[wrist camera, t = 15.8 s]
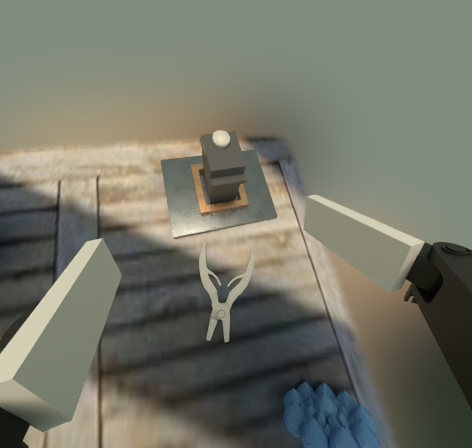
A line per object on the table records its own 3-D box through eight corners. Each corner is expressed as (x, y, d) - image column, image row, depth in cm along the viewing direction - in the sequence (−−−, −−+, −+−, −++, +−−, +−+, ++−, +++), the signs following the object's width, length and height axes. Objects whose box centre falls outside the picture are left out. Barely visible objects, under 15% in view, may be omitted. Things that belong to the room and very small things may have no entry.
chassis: (174, 238, 32) (171, 235, 30) (161, 163, 36) (158, 155, 34) (275, 217, 37) (280, 213, 34) (254, 152, 41) (257, 144, 38)
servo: (211, 210, 34) (212, 175, 23) (202, 172, 36) (199, 123, 25) (236, 205, 35) (249, 169, 24) (226, 168, 37) (233, 120, 26)
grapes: (266, 426, 26) (310, 536, 15) (267, 370, 28) (306, 429, 17) (340, 424, 28) (432, 523, 16) (335, 371, 30) (413, 426, 18)
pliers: (256, 249, 33) (249, 344, 28) (254, 250, 34) (247, 341, 29) (202, 241, 32) (184, 338, 27) (202, 243, 33) (185, 335, 28)
